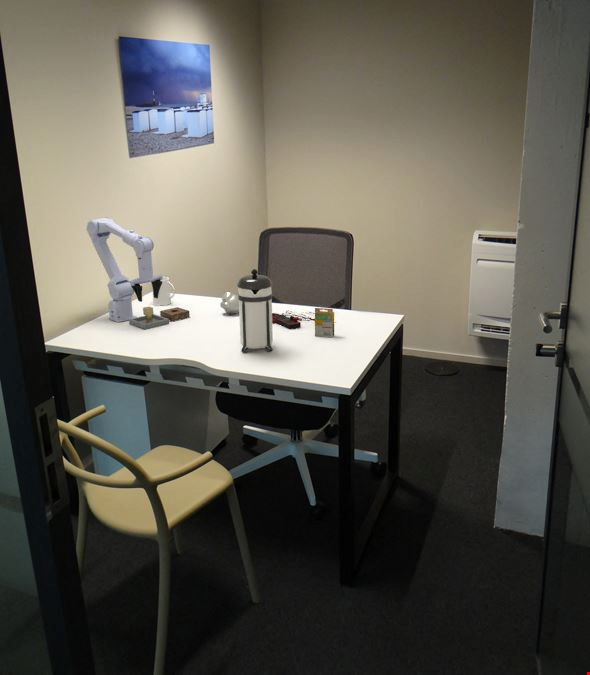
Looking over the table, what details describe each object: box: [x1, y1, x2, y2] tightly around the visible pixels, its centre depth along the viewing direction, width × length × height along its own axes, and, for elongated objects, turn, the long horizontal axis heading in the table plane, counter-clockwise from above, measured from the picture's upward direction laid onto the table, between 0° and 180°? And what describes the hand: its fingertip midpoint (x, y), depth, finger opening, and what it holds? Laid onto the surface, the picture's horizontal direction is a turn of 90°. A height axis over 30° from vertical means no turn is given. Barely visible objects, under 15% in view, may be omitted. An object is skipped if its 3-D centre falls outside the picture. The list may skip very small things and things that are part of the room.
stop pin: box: [142, 306, 155, 323], centre depth 284 cm, size 3×3×6 cm
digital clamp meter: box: [272, 310, 315, 330], centre depth 287 cm, size 23×4×25 cm
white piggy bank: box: [219, 291, 239, 315], centre depth 297 cm, size 9×10×10 cm
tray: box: [128, 313, 170, 330], centre depth 285 cm, size 12×12×2 cm
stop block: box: [159, 306, 191, 322], centre depth 293 cm, size 9×9×3 cm
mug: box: [151, 276, 176, 306], centre depth 314 cm, size 12×8×12 cm
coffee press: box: [236, 268, 274, 354], centre depth 249 cm, size 17×16×30 cm
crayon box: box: [314, 307, 335, 338], centre depth 264 cm, size 7×3×12 cm, turn 74°
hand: (148, 299), depth 283 cm, fingers open, 7 cm apart
